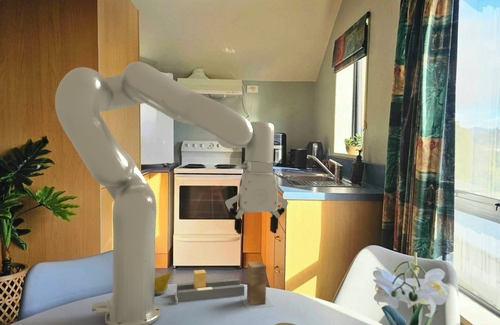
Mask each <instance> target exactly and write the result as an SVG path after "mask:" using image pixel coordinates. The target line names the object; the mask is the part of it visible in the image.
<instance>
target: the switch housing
mask: <svg viewBox="0 0 500 325" xmlns="http://www.w3.org/2000/svg"><path fill="white" fill-rule="evenodd" d="M193 287H194V281H193V282H182V283H176V298H177V302H178V305H179V303H182V302H185V303H186V302H194V301H205V300H214V299H224V298H233V297H241V296H242V297H244V296H245V285H244V284H242V283H241V279H240V278H239V277H238V278H237V277H236V278H227V279H218V280H215V279H214V280H206V288H197V289H193Z"/></svg>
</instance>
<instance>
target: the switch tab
mask: <svg viewBox="0 0 500 325" xmlns="http://www.w3.org/2000/svg"><path fill="white" fill-rule="evenodd" d="M206 278H207V272H206V270H205V269H198V270H196V269H195V270H193V282H194V287H193V289H197V288H206V281H207V279H206Z"/></svg>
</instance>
